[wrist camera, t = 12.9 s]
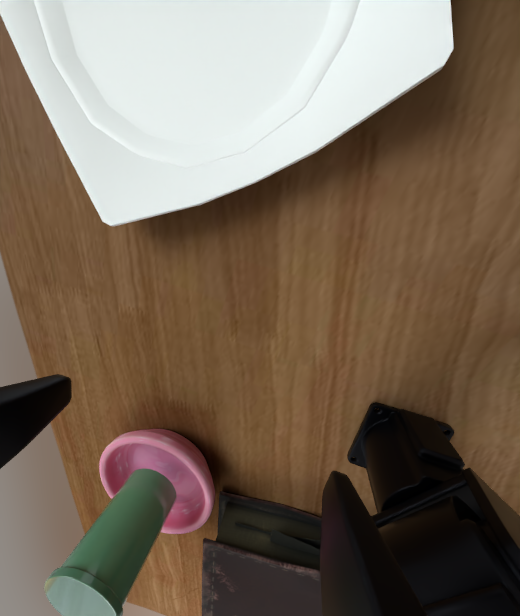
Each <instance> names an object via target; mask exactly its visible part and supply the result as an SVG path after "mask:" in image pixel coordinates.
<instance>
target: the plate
mask: <svg viewBox="0 0 520 616" xmlns="http://www.w3.org/2000/svg"><path fill="white" fill-rule="evenodd" d="M0 14H1V17H2V19H3V21H4V23H5V26H6V28H7V30H8V32H9V34H10V37H11V39H12V41H13V43H14V46H15V48H16V50H17V52H18V54H19V57H20V59H21V61H22V63H23V65H24V68H25V70H26V72H27V74H28V76H29V78H30V80H31V82H32V84H33V86H34V88H35V90H36V92H37V94H38V96H39V98H40V100H41V102H42V104H43V106H44V108H45V110H46V113H47V115H48V117H49V119H50V121H51V123H52V125H53V127H54V129H55V131H56V133H57V135H58V137H59V139H60V141H61V143H62V144H63V146H64V148H65V150H66V152H67V154H68V156H69V158H70V160H71V162H72V164H73V166H74V167H75V169H76V171H77V173H78V175H79V177H80V179H81V181H82V183H83V185H84V187H85V189H86V191H87V192H88V194H89V196H90V198H91V200H92V202H93V204H94V206H95V208H96V210H97V212H98V214H99V215H100V217H101V219H102V221H103V222H104V223H106V224H108V225H110V226H118V225H122V224H126V223H130V222H134V221H138V220H142V219H146V218H150V217H154V216H158V215H162V214H166V213H170V212H174V211H178V210H182V209H186V208H190V207H194V206H198V205H202V204H204V203H207V202H209V201H212V200H214V199H217V198H219V197H222V196H224V195H227V194H229V193H232V192H234V191H237V190H239V189H242V188H244V187H247V186H249V185H252V184H254V183H256V182H258V181H260V180H262V179H264V178H266V177H268V176H270V175H272V174H274V173H276V172H278V171H280V170H282V169H284V168H286V167H288V166H290V165H292V164H294V163H296V162H298V161H300V160H302V159H304V158H306V157H308V156H310V155H312V154H314V153H316V152H318V151H319V150H321V149H322V148H324V147H325V146H327V145H328V144H330V143H331V142H333V141H334V140H336V139H337V138H339V137H340V136H342V135H343V134H345V133H346V132H348V131H349V130H351V129H352V128H354V127H355V126H357V125H358V124H360V123H361V122H363V121H364V120H366V119H367V118H369V117H370V116H372V115H373V114H375V113H377V112H378V111H380V110H381V109H383V108H384V107H386V106H387V105H389V104H390V103H392V102H393V101H395V100H396V99H398V98H399V97H401V96H402V95H404V94H405V93H407V92H408V91H410V90H411V89H413V88H414V87H416V86H417V85H419V84H420V83H422V82H423V81H425V80H426V79H428V78H429V77H431V76H432V75H434V74H436V73H437V72H439V71H440V70H441V69H442V68H443V66H444V65H445V63H446V61H447V59H448V58H449V56H450V54H451V52H452V51H453V49H454V46H453V31H452V16H451V0H0Z"/></svg>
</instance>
